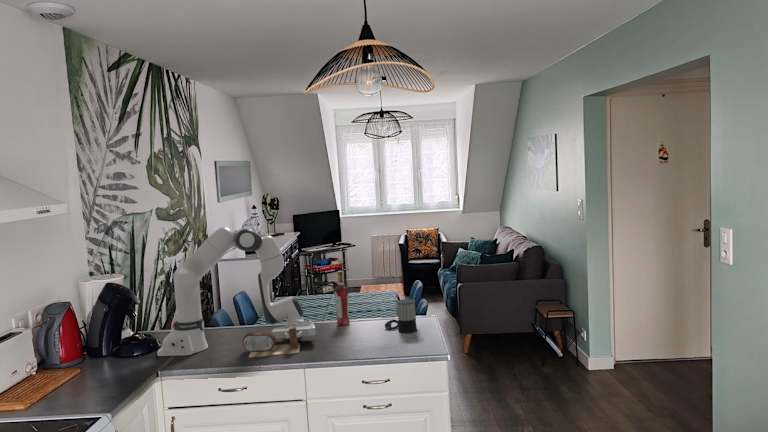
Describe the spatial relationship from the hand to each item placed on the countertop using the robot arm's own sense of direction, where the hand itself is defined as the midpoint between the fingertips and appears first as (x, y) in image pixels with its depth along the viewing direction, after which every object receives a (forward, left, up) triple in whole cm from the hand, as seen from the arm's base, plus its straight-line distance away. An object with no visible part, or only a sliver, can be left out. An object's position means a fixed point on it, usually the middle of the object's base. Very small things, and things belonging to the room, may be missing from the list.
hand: (292, 336), depth 261 cm
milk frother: (+51, +16, -6) cm, 54 cm away
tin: (-15, +1, -6) cm, 16 cm away
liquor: (+24, +35, -6) cm, 43 cm away
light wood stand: (-9, +1, -6) cm, 10 cm away
